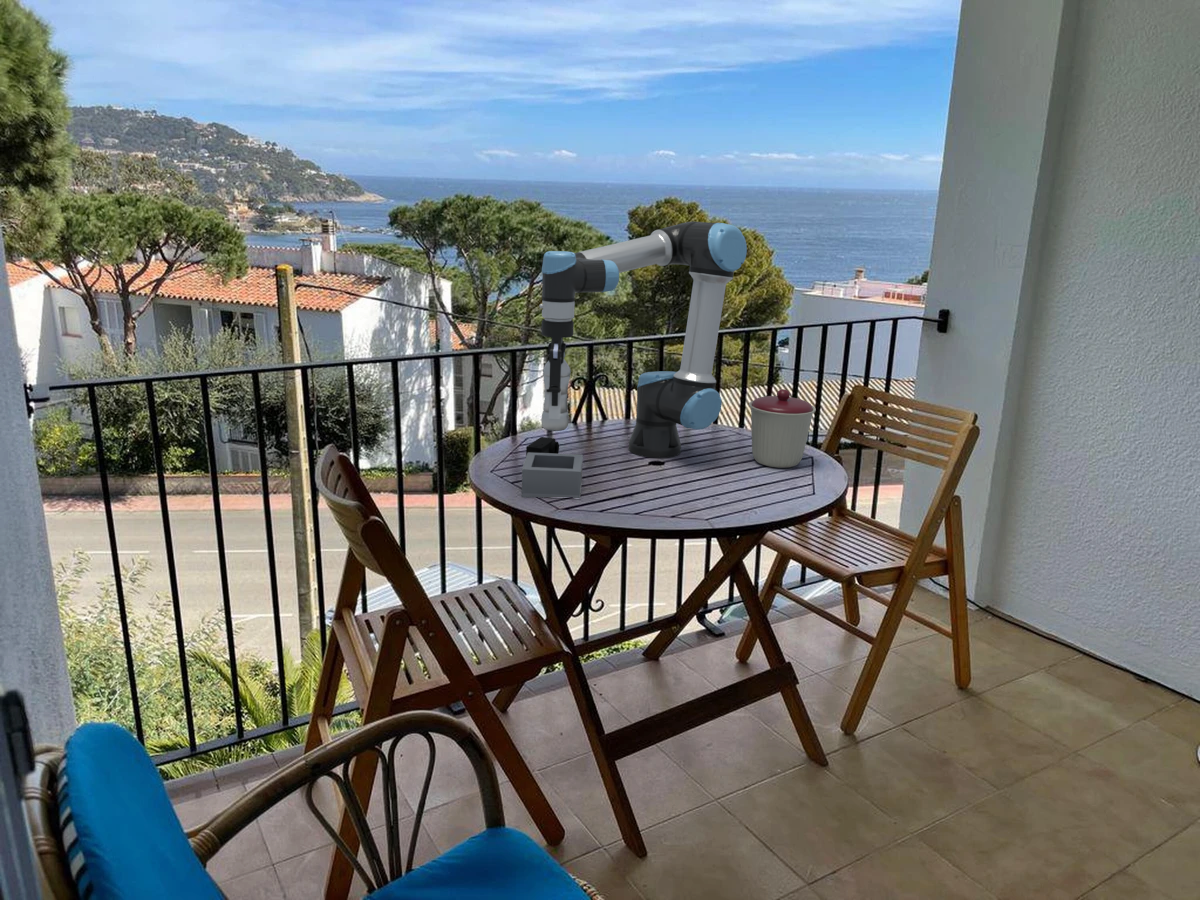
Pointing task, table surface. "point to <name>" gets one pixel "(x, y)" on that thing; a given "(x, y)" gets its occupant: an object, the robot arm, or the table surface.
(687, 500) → the table surface
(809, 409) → the canister
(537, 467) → the well
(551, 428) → the plastic bottle
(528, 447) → the digital camera
